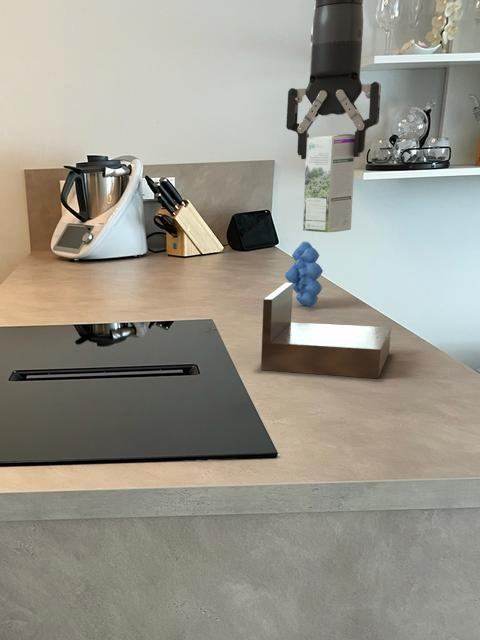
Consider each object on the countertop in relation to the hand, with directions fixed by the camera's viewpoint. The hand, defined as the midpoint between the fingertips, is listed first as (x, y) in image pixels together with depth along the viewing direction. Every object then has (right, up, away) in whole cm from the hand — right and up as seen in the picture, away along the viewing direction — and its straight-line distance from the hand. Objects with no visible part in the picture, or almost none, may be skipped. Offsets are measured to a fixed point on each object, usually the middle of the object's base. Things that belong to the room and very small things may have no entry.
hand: (330, 158), depth 125 cm
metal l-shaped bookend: (-3, -34, -11) cm, 36 cm away
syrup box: (+1, -10, +4) cm, 11 cm away
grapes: (+2, -18, +28) cm, 33 cm away
